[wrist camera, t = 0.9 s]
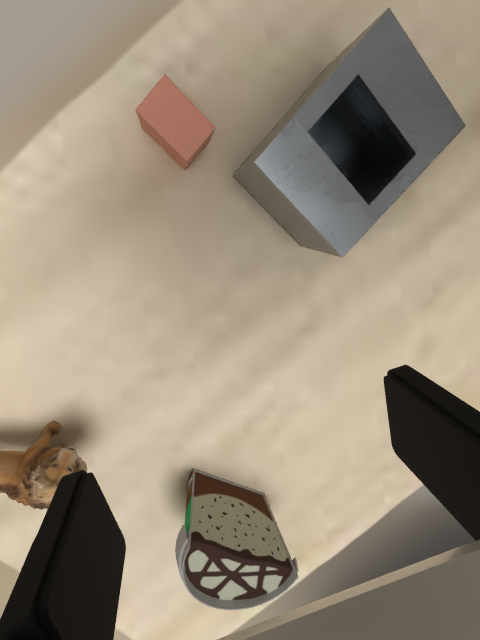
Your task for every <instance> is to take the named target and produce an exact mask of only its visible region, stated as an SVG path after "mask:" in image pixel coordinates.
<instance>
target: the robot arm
mask: <svg viewBox="0 0 480 640" xmlns="http://www.w3.org/2000/svg"><path fill="white" fill-rule="evenodd" d="M384 387H385V395H386V403H387V411H388V419H389V427H390V435H391V442H392V447H393V449H394V451H395V453H396V455H397V456H398V457H399V458H400V459H401V460H402V461H403V462H404V463H405V465H406V466H407V467H408V468H409V469H410V470H411V471H412V472H413V473H414V474H415V475H416V476H417V478H418V479H419V480H420V481H421V482H422V483H423V484H424V485H425V486H426V487H427V488H428V489H429V490H430V492H431V493H432V494H433V495H434V496H435V497H436V498H437V499H438V500H439V501H440V502H441V503H442V505H443V506H444V507H445V508H446V509H447V510H448V511H449V512H450V513H451V514H452V515H453V516H454V517H455V519H456V520H457V521H458V522H459V523H460V524H461V525H462V526H463V527H464V528H465V529H466V530H467V532H469V534H470V535H471V536H472V537H473V538H474V539H475V540H476V541H475V542H472V543H469V544H466V545H464V546H461V547H458V548H455V549H453V550H450V551H447V552H445V553H442V554H439V555H437V556H434V557H431V558H429V559H426V560H423V561H421V562H418V563H415V564H413V565H410V566H408V567H405V568H402V569H400V570H397V571H394V572H392V573H389V574H387V575H384V576H381V577H378V578H376V579H373V580H371V581H368V582H365V583H363V584H360V585H358V586H355V587H352V588H350V589H347V590H344V591H342V592H339V593H336V594H334V595H331V596H329V597H326V598H323V599H321V600H318V601H316V602H313V603H311V604H308V605H305V606H303V607H300V608H298V609H295V610H292V611H290V612H287V613H285V614H282V615H280V616H277V617H274V618H271V619H269V620H266V621H264V622H261V623H259V624H256V625H253V626H251V627H248V628H246V629H243V630H241V631H238V632H235V633H233V634H230V635H228V636H225V637H223V638H220V639H218V640H480V412H479V411H478V410H476V409H475V408H473V407H471V406H470V405H468V404H467V403H465V402H464V401H462V400H461V399H459V398H458V397H456V396H454V395H453V394H451V393H450V392H448V391H447V390H445V389H444V388H442V387H441V386H439V385H438V384H436V383H434V382H433V381H431V380H430V379H428V378H427V377H425V376H424V375H422V374H421V373H419V372H418V371H416V370H414V369H413V368H411V367H410V366H408V365H403V366H400V367H397V368H394V369H391V370H389V371H388V373H387V376H385V377H384ZM125 551H126V545H125V540H124V537H123V535H122V532H121V530H120V528H119V526H118V524H117V522H116V520H115V518H114V516H113V514H112V512H111V510H110V508H109V505H108V503H107V501H106V499H105V497H104V495H103V493H102V491H101V489H100V487H99V485H98V483H97V481H96V479H95V476H94V475H93V473H87V472H86V471H85V470H80V471H77V472H74V473H71V474H68V475H65V476H63V477H62V478H61V479H60V482H59V484H58V486H57V489H56V491H55V494H54V496H53V498H52V501H51V503H50V505H49V508H48V510H47V513H46V515H45V517H44V520H43V522H42V524H41V527H40V529H39V532H38V534H37V536H36V538H35V540H34V542H33V544H32V546H31V548H30V551H29V553H28V555H27V558H26V560H25V562H24V565H23V567H22V569H21V572H20V574H19V577H18V579H17V581H16V584H15V586H14V588H13V591H12V593H11V595H10V598H9V600H8V603H7V605H6V607H5V610H4V612H3V615H2V617H1V619H0V640H113V638H114V631H115V623H116V616H117V609H118V602H119V595H120V588H121V580H122V573H123V566H124V559H125Z"/></svg>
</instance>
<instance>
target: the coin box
mask: <svg viewBox="0 0 480 640" xmlns="http://www.w3.org/2000/svg"><path fill="white" fill-rule="evenodd" d="M464 127H465V124H464V123H463V121H462V119H461V118H460V116H459V115H458V113H457V112H456V110H455V109H454V107H453V106H452V104H451V102H450V101H449V99H448V98H447V96H446V95H445V93H444V92H443V90H442V89H441V87H440V85H439V84H438V82H437V81H436V79H435V78H434V76H433V75H432V73H431V72H430V70H429V68H428V67H427V65H426V64H425V62H424V61H423V59H422V58H421V56H420V55H419V53H418V51H417V50H416V48H415V47H414V45H413V44H412V42H411V41H410V39H409V38H408V36H407V34H406V33H405V31H404V30H403V28H402V27H401V25H400V24H399V22H398V21H397V19H396V17H395V16H394V14H393V13H392V11H391V10H390V8H388V9H387V10H386V11H385V12H384V13H383V14H382V15H381V16H379V17H378V18H377V19H376V20H375V21H374V22H373V23H372V24H371V25H370V26H369V27H368V28H367V29H366V30H365V31H364V32H363V33H362V34H361V35H360V36H358V37H357V38H356V39H355V40H354V41H353V42H352V43H351V44H350V45H349V46H348V47H347V48H346V49H345V50H344V51H343V52H342V53H341V54H340V55H338V56H337V57H336V58H335V59H334V60H333V61H332V62H331V63H330V64H329V65H328V66H327V67H326V68H325V69H324V71H323V72H322V73H321V74H320V75H319V76H318V78H317V79H316V80H315V81H314V82H313V83H312V84H311V86H310V87H309V88H308V89H307V90H306V91H305V93H304V94H303V95H302V96H301V97H300V98H299V99H298V101H297V102H296V103H295V104H294V105H293V106H292V108H291V109H290V110H289V111H288V112H287V113H286V114H285V116H284V117H283V118H282V119H281V120H280V121H279V123H278V124H277V125H276V126H275V127H274V128H273V129H272V131H271V132H270V133H269V134H268V135H267V136H266V138H265V139H264V140H263V141H262V142H261V143H260V144H259V146H258V147H257V148H256V149H255V150H254V151H253V153H252V154H251V155H250V156H249V157H248V158H247V159H246V161H245V162H244V163H243V164H242V165H241V166H240V168H239V169H238V170H237V171H236V172H235V173H234V174H233V177H234V178H235V179H236V180H237V181H238V182H239V183H240V184H241V185H242V186H243V187H244V188H245V189H246V190H247V191H248V193H249V194H250V195H251V196H252V197H253V198H254V199H255V200H256V201H257V202H258V203H259V204H260V205H261V206H262V207H263V208H264V209H265V210H266V211H267V212H268V213H269V214H270V215H271V216H272V217H273V218H274V219H275V220H276V221H277V222H278V223H279V224H280V225H281V226H282V228H283V229H284V230H285V231H286V232H287V233H288V234H289V235H290V236H291V237H292V238H293V239H294V240H295V241H296V242H297V243H298V244H299V245H300V246H302V247H306V248H310V249H313V250H317V251H321V252H324V253H328V254H332V255H336V256H339V257H344V256H345V254H346V253H347V252H348V251H349V250H350V249H351V248H352V247H353V246H354V245H355V244H356V243H357V242H358V241H359V239H360V238H361V237H362V236H363V235H364V234H365V233H366V232H367V231H368V230H369V229H370V228H371V227H372V226H373V224H374V223H375V222H376V221H377V220H378V219H379V218H380V217H381V216H382V215H383V214H384V213H385V212H386V211H387V210H388V208H389V207H390V206H391V205H392V204H393V203H394V202H395V201H396V200H397V199H398V198H399V197H400V196H401V195H402V193H403V192H404V191H405V190H406V189H407V188H408V187H409V186H410V185H411V184H412V183H413V182H414V181H415V180H416V178H417V177H418V176H419V175H420V174H421V173H422V172H423V171H424V170H425V169H426V168H427V167H428V166H429V165H430V163H431V162H432V161H433V160H434V159H435V158H436V157H437V156H438V155H439V154H440V153H441V152H442V151H443V150H444V148H445V147H446V146H447V145H448V144H449V143H450V142H451V141H452V140H453V139H454V138H455V137H456V136H457V135H458V134H459V132H460V131H461V130H462V129H463V128H464Z"/></svg>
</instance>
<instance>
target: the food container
mask: <svg viewBox="0 0 480 640" xmlns="http://www.w3.org/2000/svg"><path fill="white" fill-rule="evenodd" d="M175 552H176V560H177V564H178V568H179V572H180V575H181V578H182V581H183V582H184V584H185V586H186V588H187V590H188V591H189V593H190V594H191V595H192V596H193V597H194V598H195V599H196V600H198V601H199V602H201V603H203V604H205V605H207V606H209V607H213V608H216V609H222V610H241V609H247V608H252V607H255V606H258V605H262V604H264V603H266V602H268V601H271V600H272V599H274V598H276V597H277V596H279V595H281V594H282V593H283V592H285V591H286V590H287V589H288V588H289V587H290V586H291V585H292V584H293V583H294V582H295V581H296V580H297V578H298V574H297V572H298V567H297V561H296V558H294V559H293V560H292V559H291V557H290V554H289V552H288V550H287V547H286V545H285V542H284V540H283V538H282V535H281V533H280V531H279V528H278V526H277V523H276V521H275V519H274V516H273V514H272V511H271V509H270V507H269V504H268V502H267V499H266V497H265V495H264V493H262V492H259V491H256V490H253V489H251V488H248V487H245V486H242V485H239V484H236V483H233V482H231V481H228V480H225V479H222V478H219V477H216V476H213V475H211V474H208V473H205V472H202V471H199V470H196V469H194V468H193V470H192V472H191V474H190V477H189V483H188V491H187V503H186V515H185V525H183V526H182V528H181V530H180V532H179V534H178V538H177V541H176V549H175Z"/></svg>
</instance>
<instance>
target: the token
mask: <svg viewBox="0 0 480 640" xmlns="http://www.w3.org/2000/svg"><path fill="white" fill-rule="evenodd" d="M136 112H137V115H138V118H139V121H140V123H141V126H142V128H143V129H144V130H145V131H146V132H147V133H148V134H149V135H150V136H151V137H152V138H153V139H154V140H155V141H156V142H157V143H158V144H159V145H160V146H161V147H162V148H163V149H164V150H165V151H166V152H167V153H168V154H169V155H170V156H171V157H172V158H173V159H174V160H175V161H176V162H177V163H178V164H179V165H180V166H181V167H182V168H183V169H184V170H185V169H186V168H187V167H188V166H189V165H190V164H191V162H192V161H193V160H194V159H195V158H196V156H197V155H198V154H199V153H200V152H201V151H202V149H203V148H204V147H205V146H206V145H207V144H208V142H209V140H210V138H211V136H212V134H213V132H214V130H215V127H214V126H213V125H212V124H211V123H210V122H209V121H208V119H207V118H206V117H205V116H204V115H203V114H202V113H201V112H200V111H199V110H198V109H197V108H196V107H195V106H194V105H193V103H192V102H191V101H190V100H189V99H188V98H187V97H186V96H185V95H184V94H183V93H182V92H181V91H180V90H179V89H178V87H177V86H176V85H175V84H174V83H173V82H172V81H171V80H170V79H169V78H168V77H167V76H166V75H164V76H163V77H162V78H161V79H160V81H159V82H158V83H157V84H156V86H155V87H154V88H153V89H152V90H151V92H150V93H149V94H148V95H147V97H146V98H145V99H144V100H143V102H142V103H141V104H140V105H139V106H138V108H137V109H136Z"/></svg>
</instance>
